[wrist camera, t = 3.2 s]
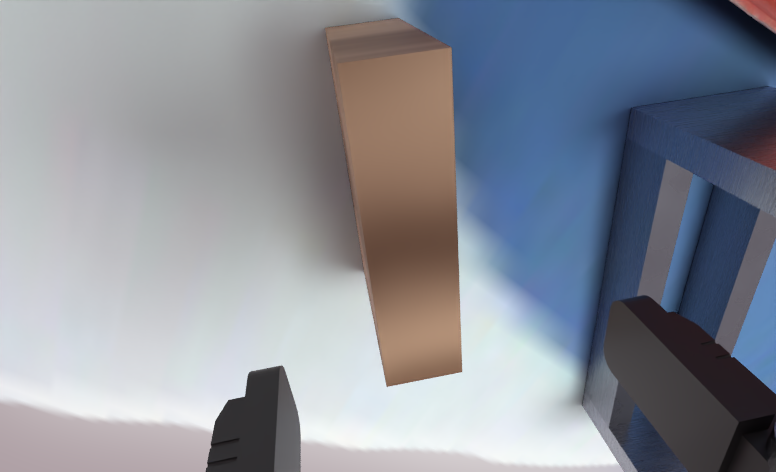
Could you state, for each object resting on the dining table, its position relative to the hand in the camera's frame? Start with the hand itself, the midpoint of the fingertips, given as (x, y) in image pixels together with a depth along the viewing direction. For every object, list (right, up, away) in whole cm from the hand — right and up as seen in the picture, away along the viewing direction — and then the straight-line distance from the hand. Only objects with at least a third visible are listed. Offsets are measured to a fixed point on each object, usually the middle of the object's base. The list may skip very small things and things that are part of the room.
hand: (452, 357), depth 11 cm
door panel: (-2, +6, +11) cm, 13 cm away
